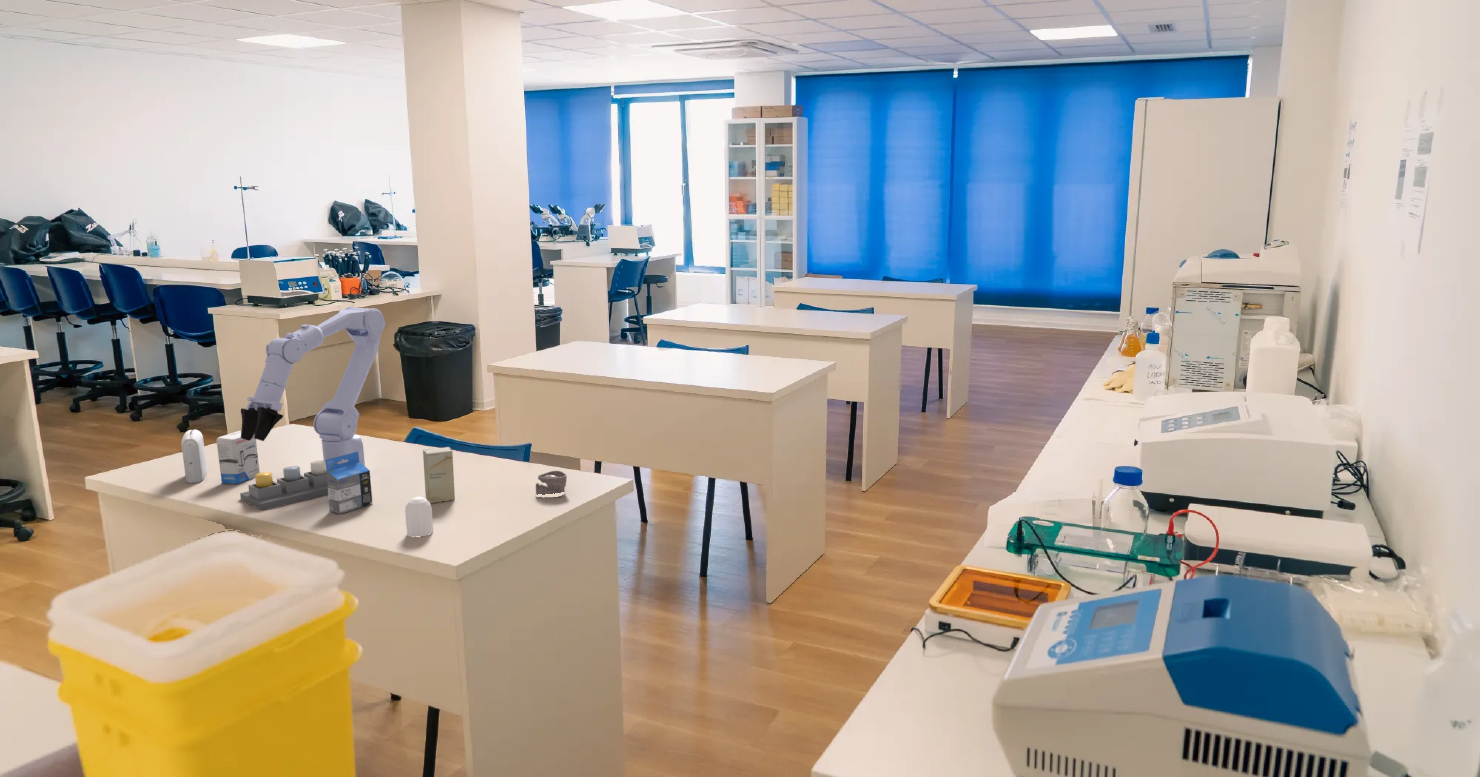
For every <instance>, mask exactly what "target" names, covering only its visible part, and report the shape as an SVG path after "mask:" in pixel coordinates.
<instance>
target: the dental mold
mask: <svg viewBox="0 0 1480 777" xmlns="http://www.w3.org/2000/svg"><path fill="white" fill-rule="evenodd" d="M567 477H568V476H567V473H565V472H563V471H562V470H551V471H547V472H544V473H541V474H539V475H538V476H537V479H538V480H539V481H540V482H541V483H542V484H539V482H536V483H535V495H536V494H537V495H538V494H542V495H545V494H553V493H554V494H555V493H561V492H565V487H566V485H567ZM543 483H544V484H546V485H543Z"/></svg>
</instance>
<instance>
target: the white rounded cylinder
mask: <svg viewBox="0 0 1480 777" xmlns="http://www.w3.org/2000/svg"><path fill="white" fill-rule="evenodd" d="M431 504H432V503H429V501H428V500H427V499H426V497H422V496H414V497H412V498H411V499H409V500H408V502H407V503H406V505H405V508H404V509H405V510H404V512H405V513H404V514H405V522H406V523H405V524H406V525H405V526H406V535H407V536H408V537H409V536H415V537H416V536H425V537H427V536H426V535H428V534H430V533H432V532H433V533H434V525H433V509H432V505H431ZM433 533H432V534H433ZM428 536H429V535H428ZM415 537H414V538H415Z"/></svg>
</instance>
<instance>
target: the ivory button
mask: <svg viewBox="0 0 1480 777" xmlns="http://www.w3.org/2000/svg"><path fill="white" fill-rule="evenodd" d="M309 464H310V465H309V466H310V472H311V475H313V476H319V475H323V474H327V472H326V471H327V470H326V463H325V461H324V460H314V461H311V462H310V463H309Z"/></svg>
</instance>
